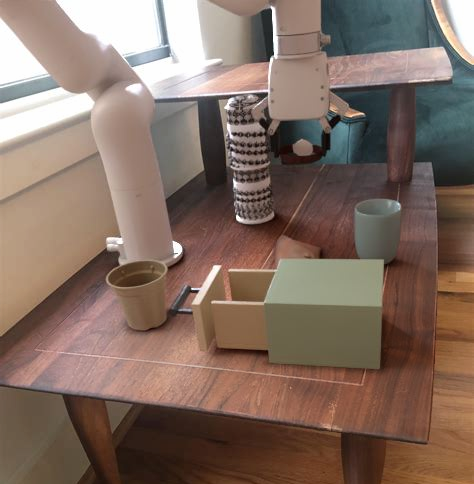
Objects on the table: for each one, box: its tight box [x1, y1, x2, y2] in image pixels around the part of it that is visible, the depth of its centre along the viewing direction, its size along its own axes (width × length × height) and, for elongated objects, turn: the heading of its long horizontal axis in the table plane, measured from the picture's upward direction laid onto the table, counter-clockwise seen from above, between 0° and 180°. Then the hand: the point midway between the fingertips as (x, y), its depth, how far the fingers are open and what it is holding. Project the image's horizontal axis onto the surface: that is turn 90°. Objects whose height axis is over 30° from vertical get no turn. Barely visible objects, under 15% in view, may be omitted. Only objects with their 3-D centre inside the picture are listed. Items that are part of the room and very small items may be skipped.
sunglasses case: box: [273, 235, 322, 270], centre depth 95 cm, size 18×7×7 cm
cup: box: [353, 198, 403, 266], centre depth 94 cm, size 8×8×10 cm
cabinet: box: [264, 258, 385, 370], centre depth 75 cm, size 15×13×10 cm
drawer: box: [167, 264, 276, 353], centre depth 79 cm, size 18×11×8 cm, turn 76°
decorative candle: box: [223, 94, 275, 225], centre depth 114 cm, size 9×9×25 cm
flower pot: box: [105, 260, 169, 331], centre depth 85 cm, size 9×9×9 cm
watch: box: [279, 138, 323, 165], centre depth 96 cm, size 8×5×4 cm, turn 69°
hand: (300, 154), depth 97 cm, fingers closed on watch, 7 cm apart
